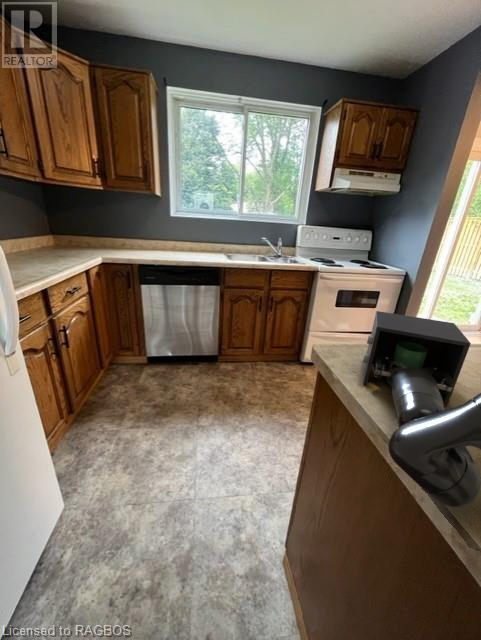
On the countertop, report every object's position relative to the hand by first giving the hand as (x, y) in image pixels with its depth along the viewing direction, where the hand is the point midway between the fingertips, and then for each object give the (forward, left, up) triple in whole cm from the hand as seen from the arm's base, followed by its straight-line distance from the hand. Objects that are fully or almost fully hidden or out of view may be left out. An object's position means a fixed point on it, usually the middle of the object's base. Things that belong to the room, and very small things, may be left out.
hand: (407, 359), depth 64 cm
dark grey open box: (0, 0, -6) cm, 6 cm away
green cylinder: (0, +2, -6) cm, 6 cm away
